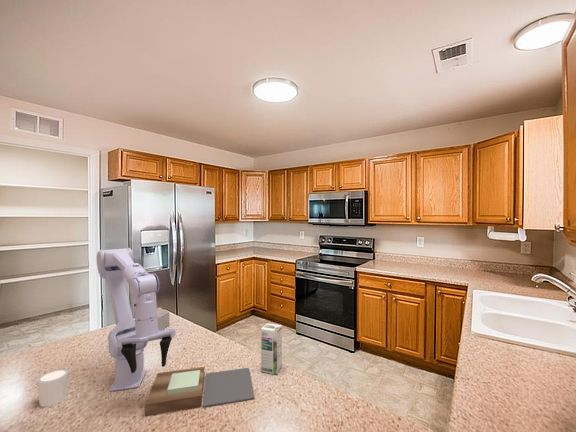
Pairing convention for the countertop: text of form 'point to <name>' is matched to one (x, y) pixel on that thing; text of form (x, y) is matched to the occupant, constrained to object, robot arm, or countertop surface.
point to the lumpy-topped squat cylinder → (162, 318)
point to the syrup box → (271, 348)
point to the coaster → (184, 382)
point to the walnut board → (176, 402)
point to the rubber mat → (228, 387)
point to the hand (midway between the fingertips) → (149, 368)
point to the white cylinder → (52, 387)
